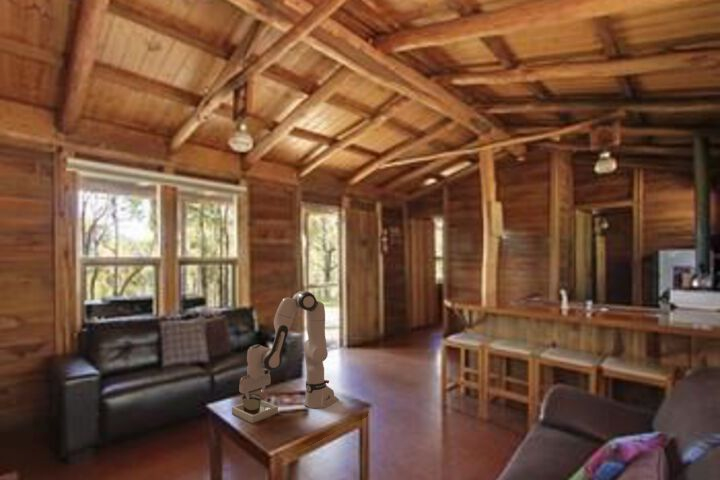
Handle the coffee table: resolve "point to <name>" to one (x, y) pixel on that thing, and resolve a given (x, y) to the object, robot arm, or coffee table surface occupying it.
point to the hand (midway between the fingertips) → (255, 396)
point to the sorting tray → (257, 417)
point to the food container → (252, 403)
